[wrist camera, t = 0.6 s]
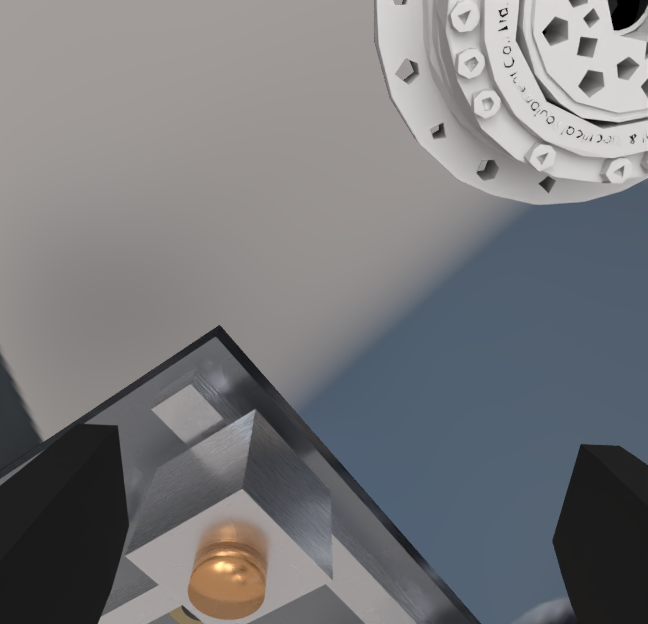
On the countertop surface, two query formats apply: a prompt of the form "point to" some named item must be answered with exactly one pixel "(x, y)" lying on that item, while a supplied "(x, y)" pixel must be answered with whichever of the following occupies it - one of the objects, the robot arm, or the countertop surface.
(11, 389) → the countertop surface
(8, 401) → the countertop surface
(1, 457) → the countertop surface
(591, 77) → the mechanical component
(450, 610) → the aluminium mounting plate
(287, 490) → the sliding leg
